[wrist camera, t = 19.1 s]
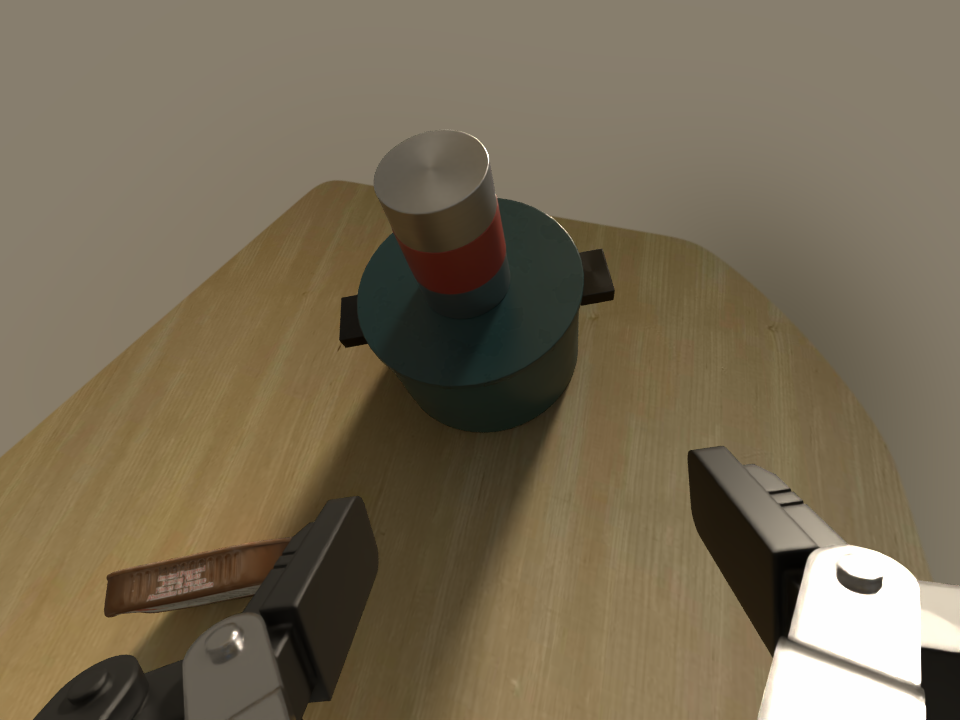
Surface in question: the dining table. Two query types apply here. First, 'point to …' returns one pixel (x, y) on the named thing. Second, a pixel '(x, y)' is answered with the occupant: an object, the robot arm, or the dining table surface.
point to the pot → (483, 327)
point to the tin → (193, 579)
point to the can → (446, 220)
